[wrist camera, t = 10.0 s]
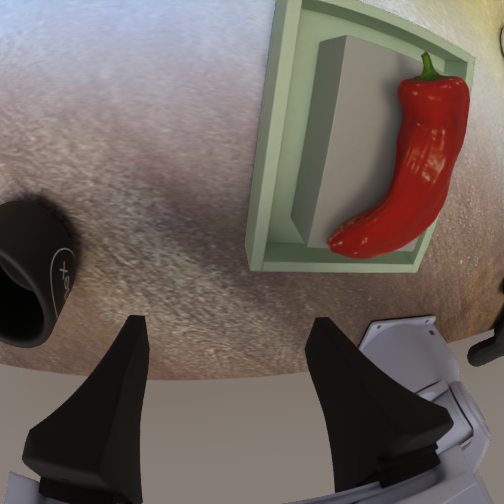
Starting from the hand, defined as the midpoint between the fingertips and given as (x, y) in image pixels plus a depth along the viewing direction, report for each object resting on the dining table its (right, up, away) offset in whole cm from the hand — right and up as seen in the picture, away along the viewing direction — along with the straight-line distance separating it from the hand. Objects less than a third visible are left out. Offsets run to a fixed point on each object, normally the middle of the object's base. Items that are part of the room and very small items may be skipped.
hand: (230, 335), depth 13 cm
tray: (+8, +11, +7) cm, 15 cm away
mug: (-18, +4, +7) cm, 20 cm away
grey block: (+8, +11, +7) cm, 15 cm away
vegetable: (+9, +9, +3) cm, 13 cm away
